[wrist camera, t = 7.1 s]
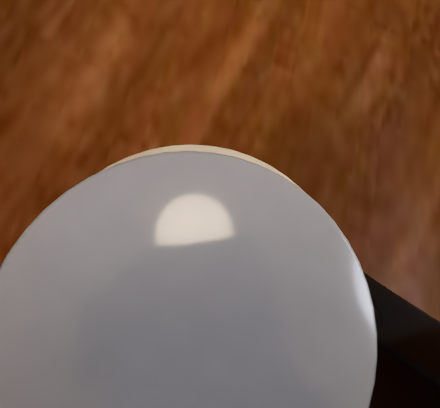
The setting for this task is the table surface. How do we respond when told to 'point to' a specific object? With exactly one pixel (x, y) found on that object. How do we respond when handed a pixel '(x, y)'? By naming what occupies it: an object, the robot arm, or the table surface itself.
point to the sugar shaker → (185, 293)
